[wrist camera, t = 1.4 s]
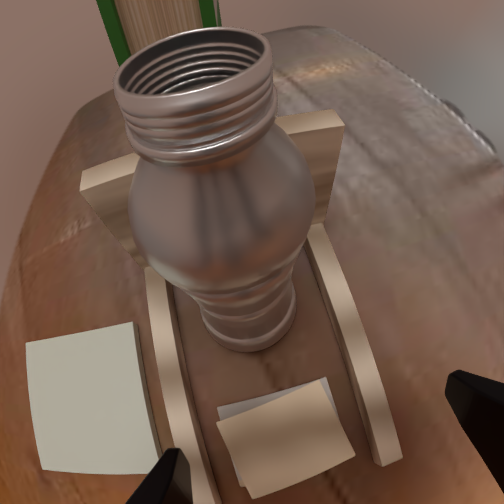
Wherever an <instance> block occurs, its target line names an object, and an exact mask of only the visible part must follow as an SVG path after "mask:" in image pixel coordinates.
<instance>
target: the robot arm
mask: <svg viewBox="0 0 504 504" xmlns="http://www.w3.org/2000/svg"><path fill="white" fill-rule="evenodd" d="M445 396H446V398H447V400H448V402H449V404H450V406H451V408H452V409H453V411H454V413H455V415H456V417H457V419H458V421H459V423H460V425H461V427H462V428H463V430H464V431H465V433H466V434H467V436H468V437H469V439H470V440H471V442H472V444H473V445H474V447H475V448H476V450H477V451H478V453H479V454H480V456H481V457H482V459H483V461H484V462H485V464H486V465H487V467H488V469H489V470H490V472H491V473H492V475H493V477H494V478H495V480H496V482H497V483H498V485H499V487H500V488H501V490H502V492H503V493H504V383H501V382H498V381H495V380H491V379H488V378H485V377H481V376H478V375H475V374H472V373H469V372H465V371H462V370H456V371H454V372H452V373H450V374H449V375H448V379H447V383H446V388H445ZM125 504H193V495H192V483H191V471H190V464H189V462H188V460H187V458H186V456H185V455H184V453H183V451H182V450H181V449H180V448H168V449H167V450H166V451H165V452H164V453H163V455H162V456H161V457H160V459H159V460H158V461H157V463H156V464H155V465H154V467H153V468H152V469H151V471H150V472H149V473H148V475H147V476H146V477H145V479H144V480H143V481H142V483H141V484H140V485H139V486H138V488H137V489H136V490H135V492H134V493H133V494H132V496H131V497H130V498H129V499H128V501H127V502H126V503H125Z"/></svg>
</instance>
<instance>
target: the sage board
mask: <svg viewBox="0 0 504 504" xmlns="http://www.w3.org/2000/svg"><path fill="white" fill-rule="evenodd" d="M26 362H27V377H28V389H29V398H30V406H31V414H32V420H33V427H34V433H35V438H36V443H37V448H38V453H39V457H40V462H41V466H42V469H44V470H52V471H62V472H73V473H89V474H147V473H149V472H150V471H151V469H152V468H153V467H154V465H155V464H156V463H157V461H158V460H159V459H160V457H161V456H162V452H161V448H160V444H159V440H158V436H157V431H156V427H155V423H154V418H153V414H152V409H151V404H150V399H149V394H148V389H147V384H146V378H145V372H144V366H143V360H142V354H141V347H140V340H139V333H138V325H137V324H135V323H134V322H129V323H124V324H120V325H115V326H110V327H106V328H101V329H96V330H91V331H86V332H81V333H76V334H71V335H66V336H61V337H55V338H50V339H44V340H39V341H33V342H28V343H26Z"/></svg>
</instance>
